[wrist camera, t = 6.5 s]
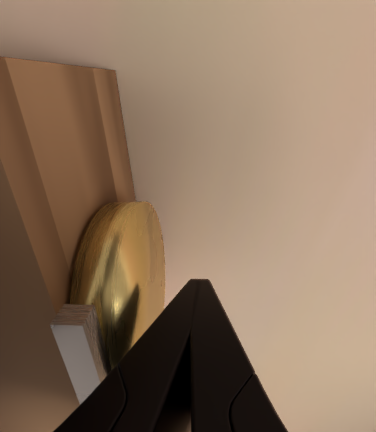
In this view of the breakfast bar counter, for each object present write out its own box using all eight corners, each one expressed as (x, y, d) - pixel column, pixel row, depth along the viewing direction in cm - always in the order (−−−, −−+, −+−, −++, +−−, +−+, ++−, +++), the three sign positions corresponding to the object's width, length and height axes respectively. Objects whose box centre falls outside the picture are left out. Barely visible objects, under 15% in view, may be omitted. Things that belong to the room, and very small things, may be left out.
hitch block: (115, 70, 9) (-38, 52, 4) (157, 335, 14) (119, 491, 9) (-50, 84, 10) (-384, 84, 4) (46, 331, 15) (-51, 474, 9)
